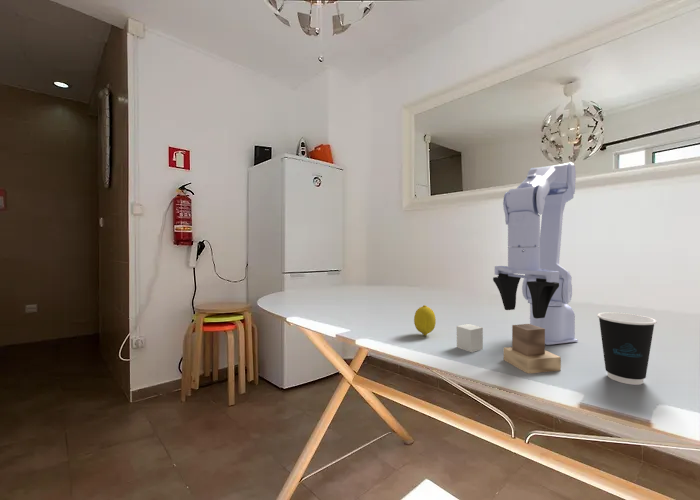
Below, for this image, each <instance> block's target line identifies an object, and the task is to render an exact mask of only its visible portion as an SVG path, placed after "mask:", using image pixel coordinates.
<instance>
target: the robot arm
mask: <svg viewBox="0 0 700 500" xmlns="http://www.w3.org/2000/svg"><path fill="white" fill-rule="evenodd" d="M576 175H577V171H576V166H575V163H573V162H572V161H569V162H566V163H561V164H553V165H547V166H539V167H530V169H529V170H528V171H527V176H526V178H524V180H523V181H521V182H520V184H519V185H518V186H517V187H516V188H510V189H509V190H508V191H506V192H505V193H504V196H503V201H502V205H503V207H502V208H503V212H504V217H505V219H504V220H505V225H507V265H506V266H505V265H496V266H494V277H493V278H492V281H493V282H494V284H495V286H496V287H497V290H498V292H499V294H500V298H501V301H502V304H503V308H504V311H505V310H506V311H514V310H515V309H516V306H517V305H516V304H517V302H516V301H517V291H518V287H519V283H520V281H521V279H523V280H522V284H521V290H522V291H521V292H522V296H523V298H524V299H525V301H527V304H529V324H531V325H534V326H538V327H541V328H544V329H545V346H550V345H558V344H569V343H577V342H579V339H577V338H576V336H575V335H576V333H575V332H576V331H575V329H576V322H575V321H576V315H575V311H574V309H573V308H572V307H571V306H570V305H569V304H570V303H571V302H572V301H571V300H572V296H573V285H572V284H573V283H572V275H571V273H570V271H568V270H567V269H565V267H563V266H562V265H560V259H561V258H560V256H561V245H562V243H561V242H562V234H563V233H562V232H563V231H562V230H563V220H564V218H563V217H564V212H565V207H566V205H567V204H566V203H568V202H569V201H571V200H573V199H574V196H575V194H576V193H575V192H576V181H577V180H576V179H577V176H576ZM495 275H496V276H495Z"/></svg>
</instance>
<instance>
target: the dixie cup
mask: <svg viewBox="0 0 700 500" xmlns="http://www.w3.org/2000/svg"><path fill="white" fill-rule="evenodd" d="M596 316H597V318H598V320H599V326H600V327H599V329H600V337H601V344H602V345H601V346H602V351H603V352H602V353H603V360H604V368H605V371H606V373H607V377H608V378H609V379H611V380H613V381H616V382H619V383H621V384H626V385H635V386H639V385H643V384H644V381H645V379H646V377H647V372H648V366H649V364H648V363H649V359H650V351H651V348H652V341H653V334H654V327H655V325H656V324H657V319H654V318H652V317H649V316H646V315H645V316H644V315H640V314H639V315H638V314H634V313H633V314H632V313H626V312H625V313H624V312H613V311H611V312H610V311H609V312H608V311H607V312H599V313H597V315H596Z"/></svg>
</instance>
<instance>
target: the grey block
mask: <svg viewBox="0 0 700 500" xmlns="http://www.w3.org/2000/svg"><path fill="white" fill-rule="evenodd" d="M483 330H484V328H483V327H482V326H478V325H474V324H470V323H467V324H466V323H465V324H460V325H456V348H457V349H461V350H463V351H466V352H470V353H474V352H477V351H481V350H483V349H484V348H483V347H484V340H483V339H484V337H483V335H484V334H483V333H484V331H483Z"/></svg>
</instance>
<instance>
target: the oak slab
mask: <svg viewBox="0 0 700 500" xmlns="http://www.w3.org/2000/svg"><path fill="white" fill-rule="evenodd" d="M561 358H562V357H561V356H559V355H557V354H554V353H553V352H550V351H548V350H545V354H543V355H534V356H526V355H524V354H521V353H519V352H517V351H515V350H512V346H508V347H503V361H505V362H506V363H508V364H511V365H512V366H514V367H515V368H517V369H519V370H521V371H522V372H524V373H526V374H537V373H548V372H560V371H561V370H562V369H561V367H562V365H561V364H562V363H561V362H562V359H561Z"/></svg>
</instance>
